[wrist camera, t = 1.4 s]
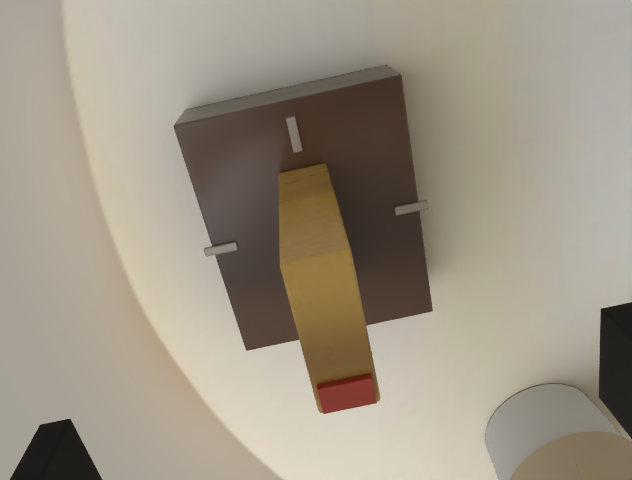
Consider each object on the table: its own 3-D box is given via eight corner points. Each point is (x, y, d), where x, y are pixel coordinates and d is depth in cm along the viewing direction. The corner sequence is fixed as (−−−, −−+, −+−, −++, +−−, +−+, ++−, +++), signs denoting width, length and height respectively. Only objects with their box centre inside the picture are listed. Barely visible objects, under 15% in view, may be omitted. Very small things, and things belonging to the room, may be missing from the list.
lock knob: (277, 172, 22) (279, 268, 14) (325, 162, 22) (351, 252, 14) (306, 287, 24) (319, 420, 17) (349, 278, 24) (382, 407, 17)
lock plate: (176, 111, 24) (163, 128, 21) (394, 62, 23) (411, 73, 20) (242, 317, 28) (238, 354, 25) (424, 279, 28) (441, 312, 25)
